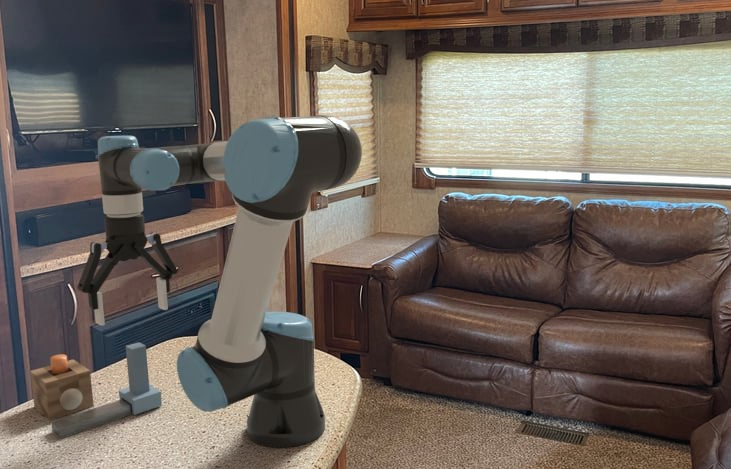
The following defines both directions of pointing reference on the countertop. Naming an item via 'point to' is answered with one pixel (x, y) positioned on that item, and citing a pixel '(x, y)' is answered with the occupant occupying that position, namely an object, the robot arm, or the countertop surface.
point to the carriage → (139, 381)
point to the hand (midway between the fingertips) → (132, 316)
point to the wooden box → (62, 390)
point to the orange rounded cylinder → (59, 364)
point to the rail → (91, 418)
